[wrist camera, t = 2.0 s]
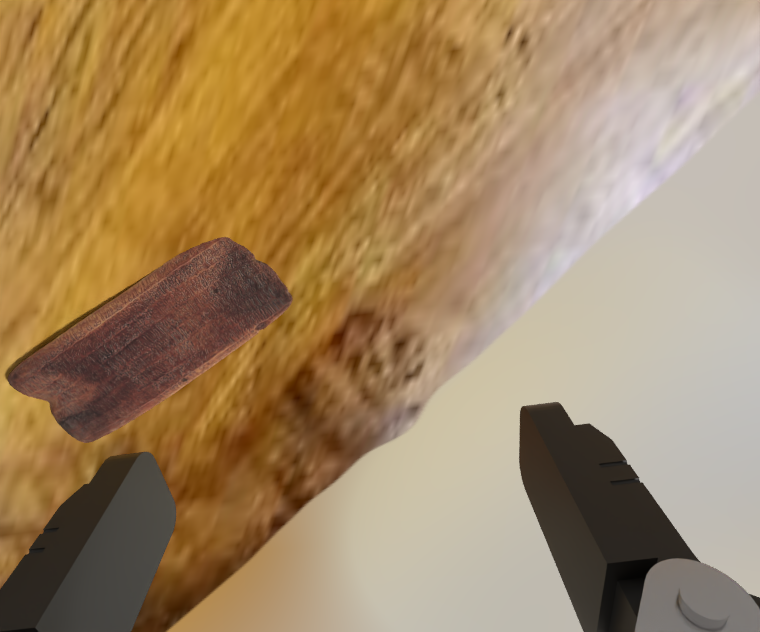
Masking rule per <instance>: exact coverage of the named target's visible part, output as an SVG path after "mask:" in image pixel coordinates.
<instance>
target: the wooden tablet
mask: <svg viewBox="0 0 760 632" xmlns="http://www.w3.org/2000/svg"><path fill="white" fill-rule="evenodd" d="M291 303H292V296H291V294H290V293H289V292H288V289H287V287H286V286H285V285H284V284H283V283H282V282H281V280H280V279H279V277H278V275H277V274H276V273H275V272H274V271H273V269H272V268H271V267H269V266H268V265H267V264H265V263H263V262H260V261H258V260H256V259H255V257H254V255H253V254H252V253H251V252H250V251H249V250H248V249H246V248H245V247H244V246H241V245H239V244H237V243H236V242H234V241H233V240H231V239H230V238H227V237H222V238H217V239H214V240H212V241H209V242H206V243H202V244H200V245H198V246H196V247H193V248H191V249H189V250H187V251H185V252H183V253H181V254H179V255H177V256H176V257H174V258H173V259H171V260H169V261H167V262H166V263H165V264H163V265H162V266H161V267H159V268H158V269H156V270H155V271H153V272H152V273H150V274H149V275H147V276H146V277H144V278H143V279H142V280H141V281H139V282H137V283H136V284H135V285H133V286H132V287H130V288H129V289H128V290H126V291H125V292H123V293H122V294H120V295H119V296H117V297H116V298H114V299H113V300H111V301H110V302H108V303H107V304H105V305H104V306H102V307H101V308H99V309H98V310H96V311H95V312H93V313H92V314H90V315H89V316H87V317H86V318H84V319H83V320H81V321H80V322H78V323H77V324H75V325H74V326H72V327H71V328H70V329H68V330H67V331H65V332H64V333H63V334H61V335H60V336H58V337H57V338H56V339H54V340H53V341H52V342H50V343H48V344H47V345H46V346H44V347H43V348H41V349H40V350H38V351H36V352H35V353H34V354H32V355H31V356H29V357H28V358H27V359H25V360H24V361H23V362H21V363H20V364H19V365H18V366H17V367H15V368H14V369H13V370H12V371H11V373H10V374H9V376H8V382H9V384H10V385H11V386H12V387H13V388H14V389H16V390H17V391H19V392H21V393H22V394H24V395H27V396H29V397H33V398H37V399H42V400H45V401H48V402H49V403H50V408H51V412H52V414H53V416H54V417H55V419H56V421H57V422H58V424H59V425H61V427H62V428H63V429H64V430H65V431H66V432H67V433H68V434H70V435H71V436H72V437H74V438H75V439H77V440H79V441H82V442H84V443H88V442H93V441H95V440H97V439H99V438H101V437H103V436H105V435H107V434H109V433H111V432H113V431H115V430H117V429H118V428H120V427H122V426H123V425H125V424H127V423H128V422H130V421H132V420H134V419H135V418H137V417H138V416H140V415H142V414H143V413H145V412H146V411H148V410H150V409H151V408H153V407H154V406H155V405H157V404H159V403H160V402H162V401H164V400H165V399H166V398H168V397H170V396H171V395H173V394H174V393H176V392H177V391H178V390H180V389H181V388H183V387H184V386H185V385H187V384H188V383H190V382H191V381H192V380H194V379H195V378H196V377H198V376H199V375H201V374H202V373H204V372H205V371H207V370H208V369H209V368H211V367H212V366H214V365H215V364H216V363H218V362H219V361H220V360H222V359H223V358H225V357H226V356H227V355H229V354H230V353H231V352H233V351H234V350H236V349H237V348H239V347H240V346H241V345H243V344H244V343H245V342H247V341H248V340H250V339H251V338H252V337H254V336H255V335H257V334H258V332H259V330H261V329H264V328H266V327H267V326H268V325H269V324H271V323H272V322H273V321H274V320H276V319H277V318H278V317H279V316H280V315H282V314H283V313H284V311H286V309H287V308H288V307H289V306H290V304H291Z"/></svg>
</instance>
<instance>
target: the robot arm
mask: <svg viewBox="0 0 760 632" xmlns="http://www.w3.org/2000/svg"><path fill="white" fill-rule="evenodd" d="M519 452H520V453H519V463H520V470H521V476H522V480H523V484H524V487H525V490H526V492H527V495H528V497H529V500H530V502H531V505H532V507H533V510H534V512H535V514H536V517H537V519H538V522H539V524H540V527H541V529H542V531H543V534H544V536H545V539H546V541H547V543H548V546H549V548H550V551H551V553H552V556H553V558H554V561H555V563H556V566H557V568H558V571H559V573H560V575H561V578H562V580H563V582H564V585H565V588H566V590H567V592H568V595H569V597H570V600H571V602H572V605H573V607H574V609H575V612H576V614H577V617H578V619H579V621H580V624H581V626H582V629H583V631H584V632H760V598H759V597H756V596H753V595H751V594H748V593H747V592H746V591H745V590H744V589H743V588H742V587H741V586H740V585H739V584H738V583H737V582H736V581H734V580H733V579H731V578H730V577H729V576H727V575H726V574H724V573H722V572H721V571H719V570H717V569H715V568H713V567H711V566H709V565H706V564H704V563H701V562H700V561H699V560H698V559H697V558H696V556H695V555H694V554H693V553H692V551H691V550H690V548H689V547H688V546H687V544H686V543H685V541H684V540H683V539H682V537H681V536H680V534H679V533H678V532H677V530H676V529H675V528H674V526H673V525H672V523H671V522H670V520H669V519H668V518H667V516H666V515H665V513H664V512H663V511H662V509H661V508H660V506H659V505H658V504H657V502H656V501H655V500H654V498H653V497H652V495H651V494H650V493H649V491H648V490H647V488H646V487H645V486H644V484H643V483H640V481H639V477H638V476H637V474H636V473H635V472H634V470H633V469H632V467H631V466H630V465H628V464H627V461H626V459H625V457H624V456H623V455H622V453H621V452H620V450H619V449H618V448H617V446H616V445H615V444H614V442H613V441H612V440H611V439H610V438H609V437H607V436H606V435H604V434H603V433H602V432H600V431H599V430H597V429H596V428H595V427H593V426H592V425H591V424H582V425H574V424H573V422H572V421H571V419H570V418H569V417H568V414H567V413H566V412H565V410H564V408H563V407H562V405H561V404H560V403H558V402H553V403H545V404H537V405H529V406H523V407H522V408H521V411H520V449H519ZM175 521H176V507H175V502H174V499H173V497H172V495H171V493H170V491H169V488H168V486H167V484H166V482H165V480H164V478H163V475H162V473H161V471H160V469H159V467H158V465H157V462H156V460H155V458H154V457H153V455H152V454H151V453H149V452H141V453H133V454H125V455H117V456H111V457H109V458H108V459H106V460H105V462H104V463H103V464H102V466H101V467H100V469H99V470H98V472H97V473H96V475H95V476H94V477H93V479H92V480H91V482H90V483H89V484H84V485H83V486H82V487H81V488H80V489H79V490H78V491H76V492H75V493H74V494H73V495H72V496H71V497H70V498H68V499H67V500H66V501H65V502H64V503H63V504H62V505H61V506H60V507H59V508H58V510H57V511H56V513H55V514H54V515H53V517H52V518H51V519H50V521H49V522H48V524H47V525H46V526H45V528H44V529H43V530H44V533H43V534H40V535H39V536H38V538H37V539H36V540H35V542H34V543H33V545H32V546H31V547H30V549H29V554H27V555H25V556H24V557H23V559H22V560H21V561H20V563H19V564H18V566H17V567H16V568H15V570H14V571H13V573H12V574H11V575H10V577H9V578H8V580H7V581H6V582H5V584H4V585H3V587H2V588H1V589H0V632H131V630H132V628H133V625H134V623H135V621H136V618H137V616H138V614H139V611H140V609H141V606H142V604H143V602H144V599H145V597H146V595H147V592H148V590H149V587H150V585H151V583H152V580H153V578H154V576H155V573H156V571H157V568H158V566H159V564H160V561H161V559H162V557H163V554H164V552H165V549H166V547H167V545H168V542H169V540H170V538H171V535H172V533H173V530H174V526H175Z"/></svg>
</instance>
